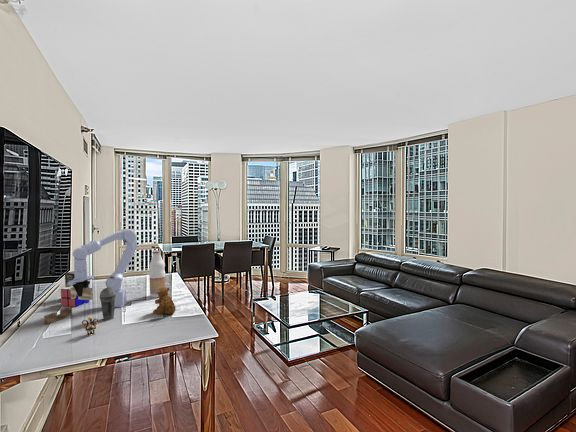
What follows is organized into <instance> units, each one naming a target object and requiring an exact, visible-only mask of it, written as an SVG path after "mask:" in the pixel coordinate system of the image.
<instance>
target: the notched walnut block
mask: <svg viewBox="0 0 576 432" xmlns="http://www.w3.org/2000/svg"><path fill="white" fill-rule="evenodd" d="M72 315H73V307H67V306H66V307H64V308H62V309H60V310H59V314H58V312H51V313H49V314H47V315H44V316H43V320H44V322H43V323H44V325H50V324H52V323H55V322H57V321H60V320H63V319H65V318H67V317H69V316H70V317H71V316H72Z"/></svg>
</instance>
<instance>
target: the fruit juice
mask: <svg viewBox="0 0 576 432" xmlns="http://www.w3.org/2000/svg"><path fill="white" fill-rule="evenodd" d="M151 253H152V258H151V260H150V262H149V266H148V268H149V277H148V278H149V295H150V296H149V297H151V298H153V299H154V298H157V299H158V298H159V296H158V293H157V292H158V290H159V289H160V288H162V287H166V288H167V283H166V282H167V281H166V280H167V278H166V276H167V275H166V271H165V267H166V263H165V261H164V260H163V258H162V255H161V254H162V251H161V250H153V251H152V252H151ZM156 293H157V294H156ZM155 294H156V295H155Z"/></svg>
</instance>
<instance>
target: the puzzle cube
mask: <svg viewBox="0 0 576 432" xmlns="http://www.w3.org/2000/svg"><path fill="white" fill-rule="evenodd" d="M72 287H73V286H69V287H66V288H65V287H63V288H61V289H60V306H61V307H66V308H67V307H72V308H77V307H80V306H82V305H84V303H85V304H88V303H90V300H80V299H78V296H76V298H74V299H71V288H72ZM88 288H90V286H89V285H88ZM87 302H88V303H87ZM79 305H80V306H79Z"/></svg>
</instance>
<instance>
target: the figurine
mask: <svg viewBox="0 0 576 432" xmlns="http://www.w3.org/2000/svg"><path fill="white" fill-rule="evenodd" d="M87 319H88V320H86V319H83V320H82V321H81V325H82V327H84V331H85V332H86V335H87V334H90V335H91V334H93V335H95V334H94V333H95V330H97V329H98V328H97V326H96V325H98V324H99V321H100V320H99V318H94V319H93V317H92V316H89V317H88V318H87ZM85 322H86V323H85ZM93 326H94V327H93ZM92 332H93V333H92Z"/></svg>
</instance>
